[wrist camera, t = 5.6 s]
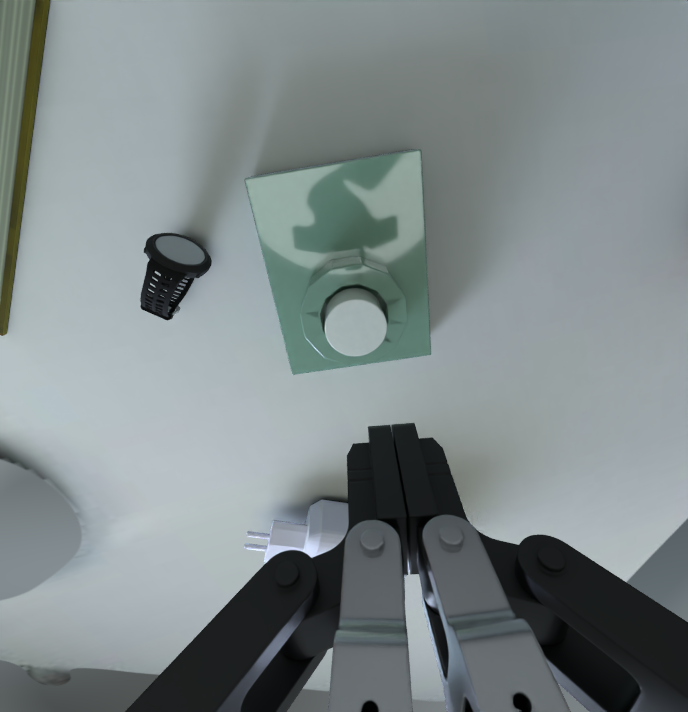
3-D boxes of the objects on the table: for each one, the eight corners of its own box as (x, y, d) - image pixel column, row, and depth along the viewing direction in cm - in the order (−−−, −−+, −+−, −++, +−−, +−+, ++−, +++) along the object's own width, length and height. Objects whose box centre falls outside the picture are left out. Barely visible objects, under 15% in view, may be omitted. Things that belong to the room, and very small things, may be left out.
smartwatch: (231, 261, 27) (211, 284, 22) (181, 307, 28) (153, 337, 24) (183, 212, 25) (151, 226, 21) (132, 263, 26) (93, 286, 22)
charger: (256, 484, 36) (409, 507, 38) (244, 547, 40) (383, 565, 42) (247, 527, 32) (419, 551, 34) (234, 593, 36) (389, 611, 38)
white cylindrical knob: (320, 292, 23) (319, 304, 22) (379, 283, 23) (383, 294, 22) (330, 345, 25) (330, 360, 23) (385, 337, 25) (389, 351, 23)
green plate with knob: (251, 175, 24) (236, 181, 20) (413, 149, 24) (429, 149, 20) (295, 358, 30) (289, 390, 26) (423, 340, 30) (438, 369, 26)
